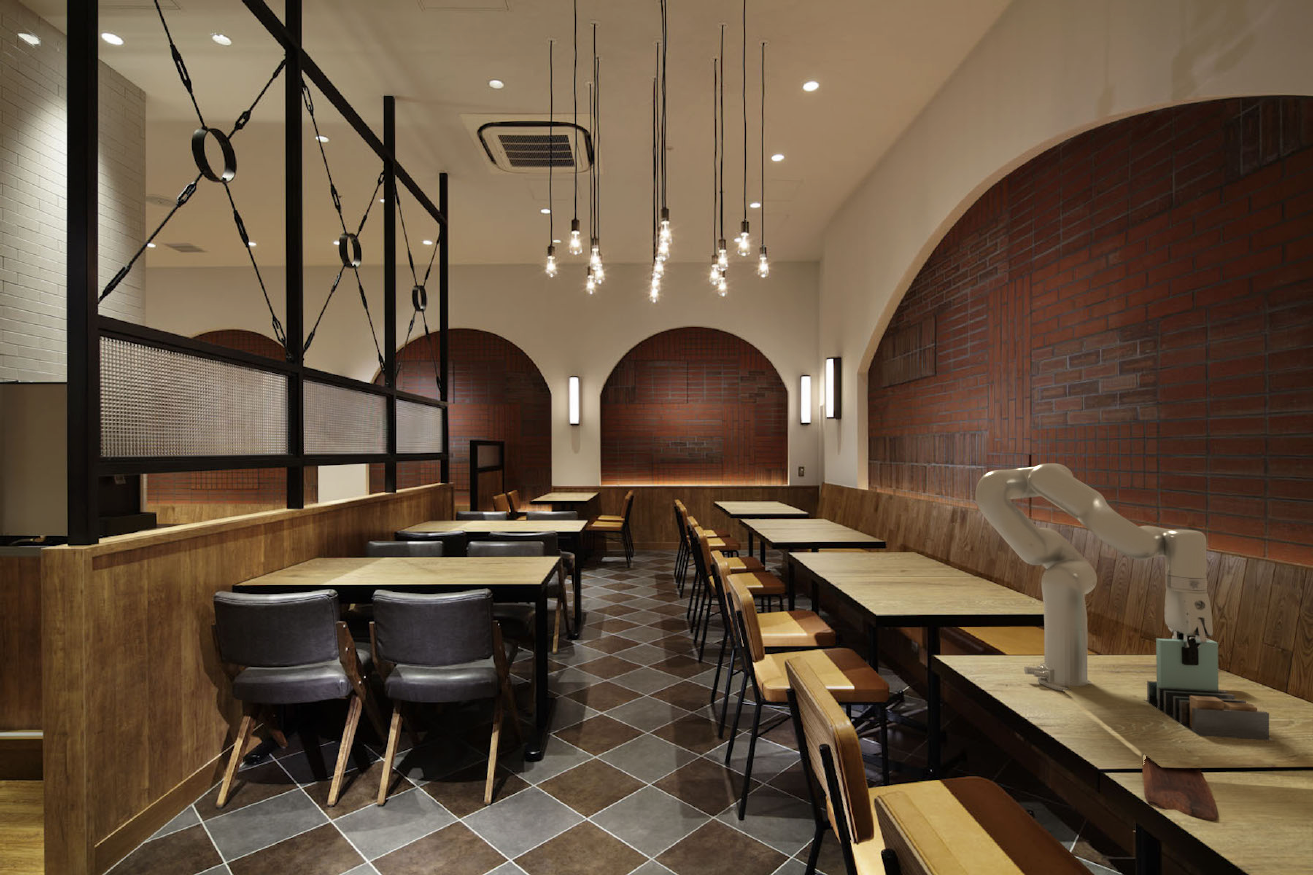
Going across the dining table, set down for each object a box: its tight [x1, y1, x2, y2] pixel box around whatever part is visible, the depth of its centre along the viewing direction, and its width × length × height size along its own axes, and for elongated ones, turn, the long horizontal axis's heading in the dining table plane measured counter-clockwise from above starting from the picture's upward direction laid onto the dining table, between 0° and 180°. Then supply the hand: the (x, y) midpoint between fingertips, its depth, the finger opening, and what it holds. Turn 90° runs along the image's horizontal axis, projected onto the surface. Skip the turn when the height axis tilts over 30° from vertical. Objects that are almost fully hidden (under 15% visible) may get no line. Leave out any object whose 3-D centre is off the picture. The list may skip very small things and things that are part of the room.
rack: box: [1143, 680, 1275, 741], centre depth 147 cm, size 14×20×6 cm
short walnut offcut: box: [1223, 702, 1258, 711], centre depth 141 cm, size 5×2×6 cm, turn 82°
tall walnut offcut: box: [1190, 696, 1223, 727], centre depth 142 cm, size 5×2×6 cm, turn 82°
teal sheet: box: [1155, 638, 1219, 699], centre depth 153 cm, size 12×2×14 cm, turn 82°
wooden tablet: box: [1142, 755, 1218, 822], centre depth 122 cm, size 26×2×10 cm
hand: (1186, 662), depth 153 cm, fingers closed on teal sheet, 1 cm apart
